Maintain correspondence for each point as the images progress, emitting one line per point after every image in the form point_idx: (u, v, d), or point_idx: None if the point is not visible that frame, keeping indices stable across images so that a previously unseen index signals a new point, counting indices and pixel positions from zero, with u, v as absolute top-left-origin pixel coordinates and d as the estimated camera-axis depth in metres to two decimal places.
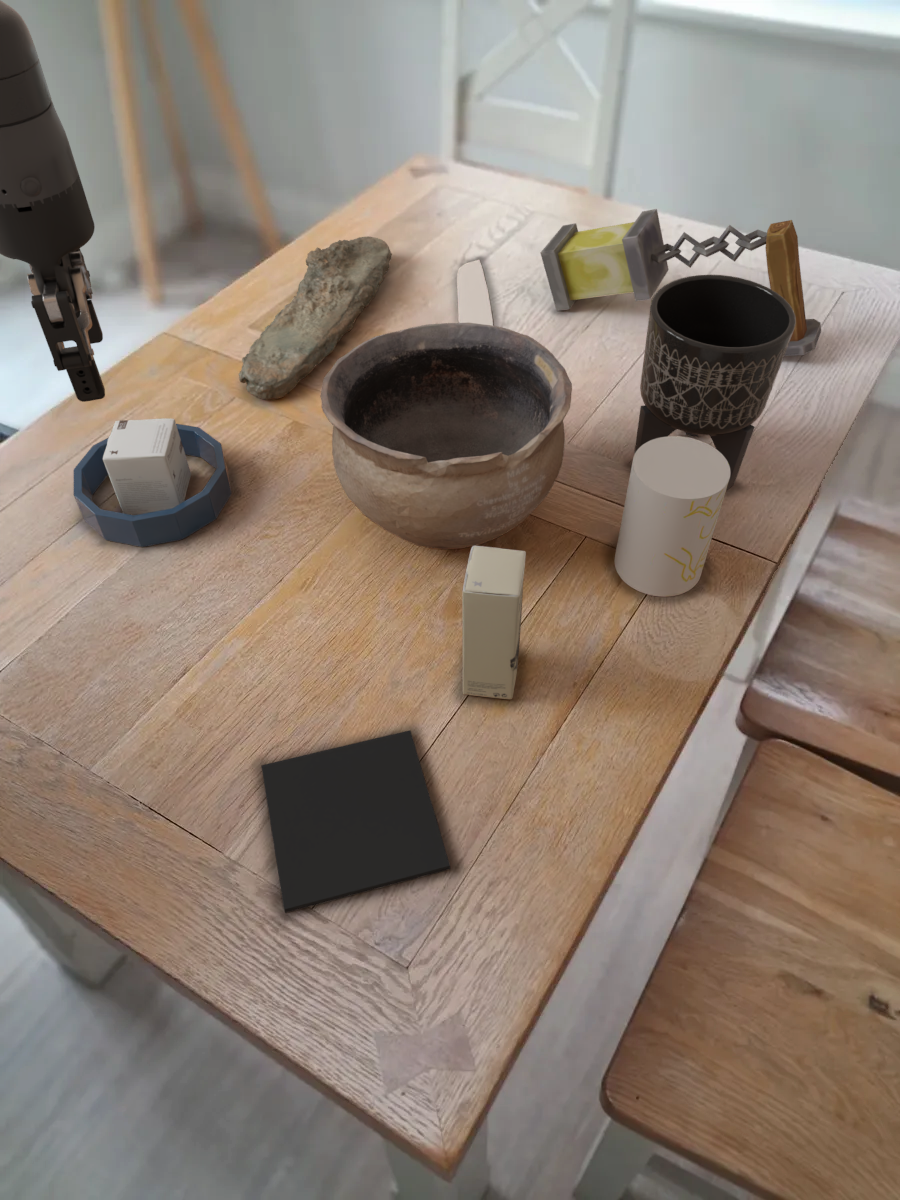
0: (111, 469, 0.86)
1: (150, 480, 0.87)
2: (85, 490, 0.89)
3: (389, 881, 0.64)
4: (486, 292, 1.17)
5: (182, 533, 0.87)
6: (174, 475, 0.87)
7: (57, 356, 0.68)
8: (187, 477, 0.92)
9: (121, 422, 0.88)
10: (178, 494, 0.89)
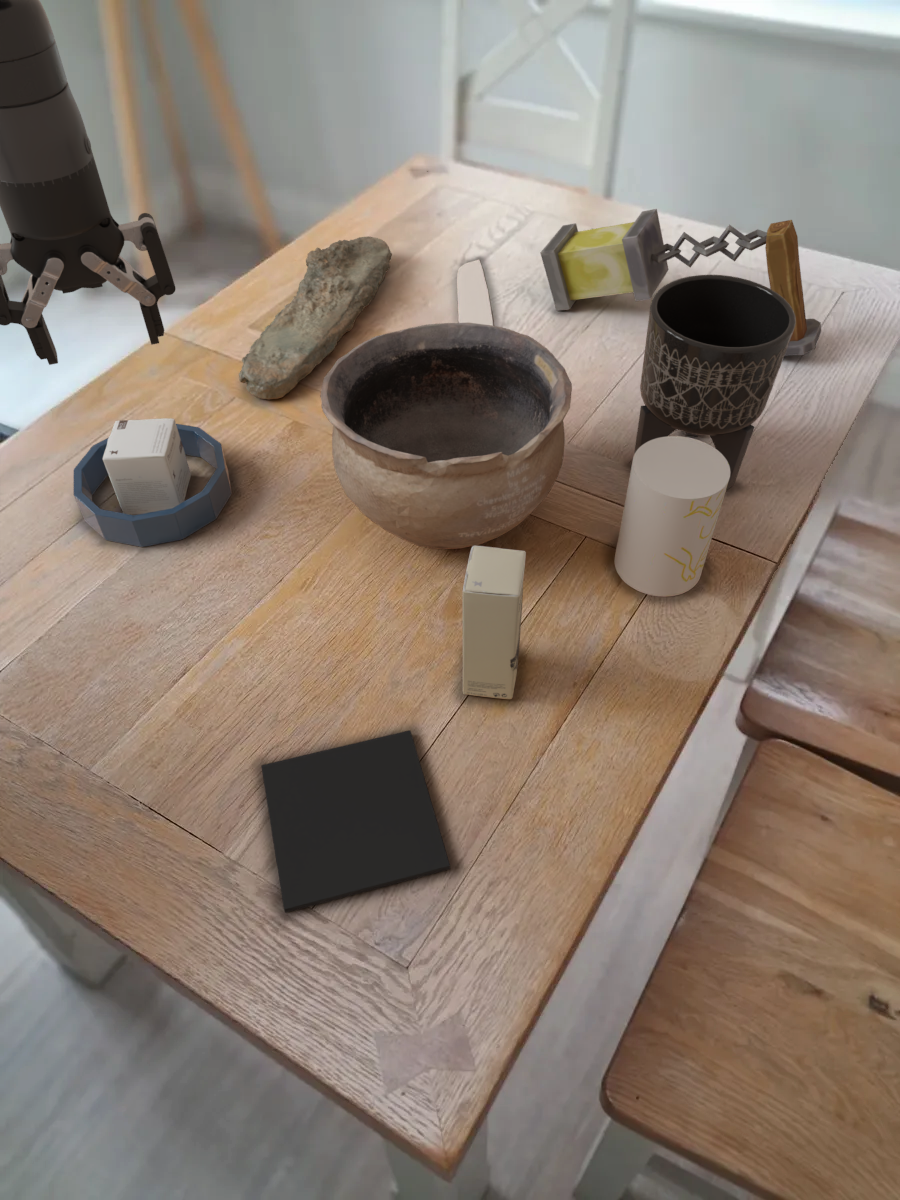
0: (111, 469, 0.86)
1: (150, 480, 0.87)
2: (85, 490, 0.89)
3: (389, 881, 0.64)
4: (485, 292, 1.17)
5: (182, 533, 0.87)
6: (174, 475, 0.87)
7: None
8: (187, 477, 0.92)
9: (121, 422, 0.88)
10: (178, 494, 0.89)
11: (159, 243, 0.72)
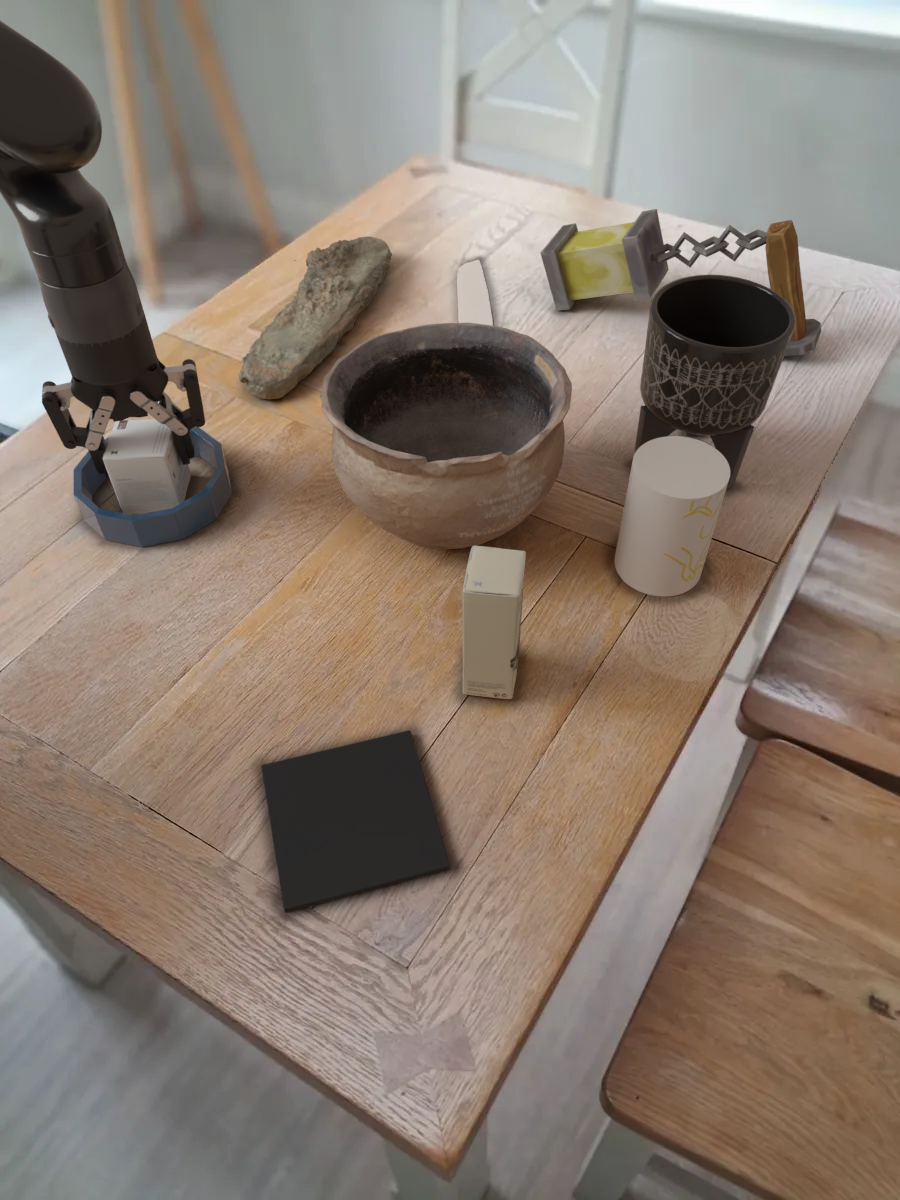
0: (111, 469, 0.86)
1: (150, 480, 0.87)
2: (85, 490, 0.89)
3: (389, 881, 0.64)
4: (485, 292, 1.17)
5: (182, 533, 0.87)
6: (174, 475, 0.87)
7: None
8: (187, 477, 0.92)
9: (121, 422, 0.88)
10: (178, 494, 0.89)
11: (197, 387, 0.83)
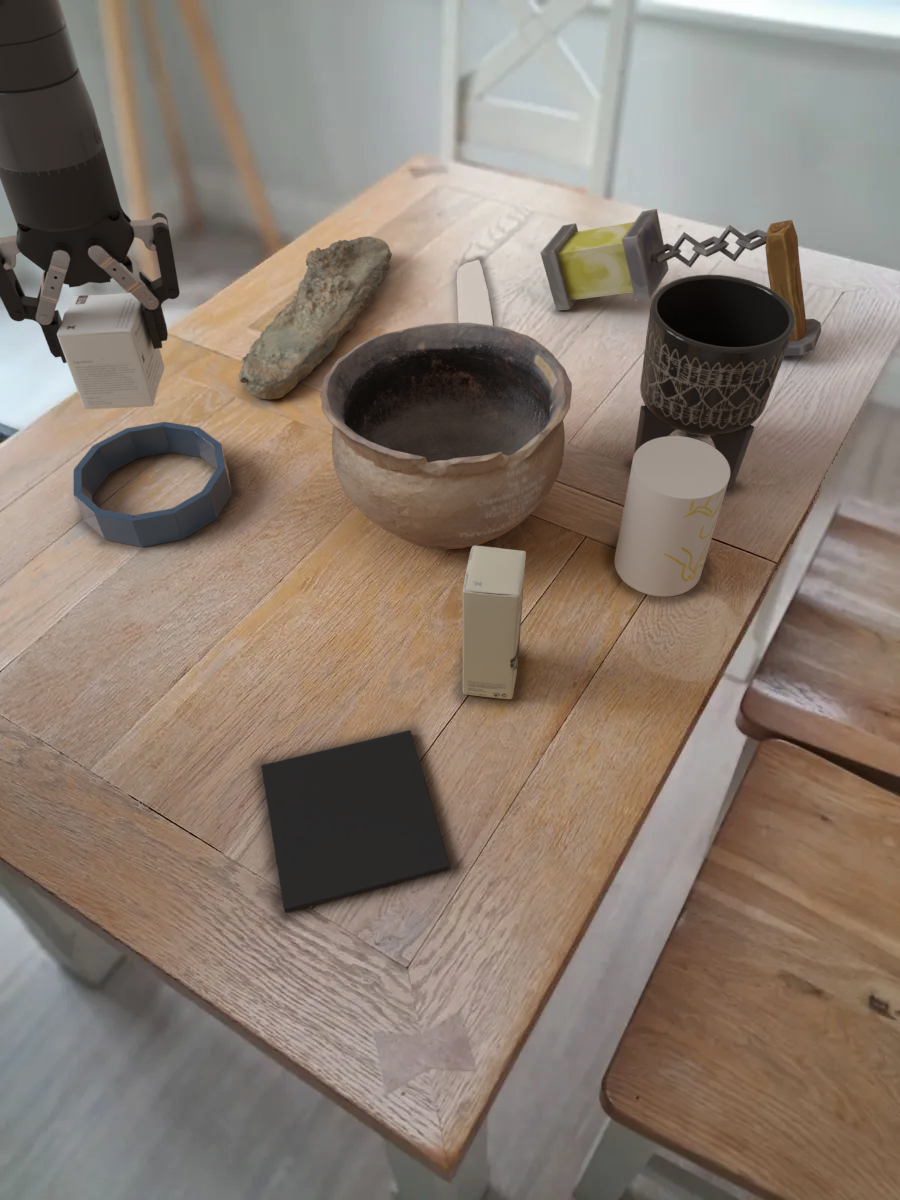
0: (68, 348, 0.72)
1: (115, 363, 0.73)
2: (85, 490, 0.89)
3: (389, 881, 0.64)
4: (485, 292, 1.17)
5: (182, 533, 0.87)
6: (143, 359, 0.74)
7: None
8: (160, 368, 0.79)
9: (80, 297, 0.75)
10: (148, 383, 0.75)
11: (170, 245, 0.69)
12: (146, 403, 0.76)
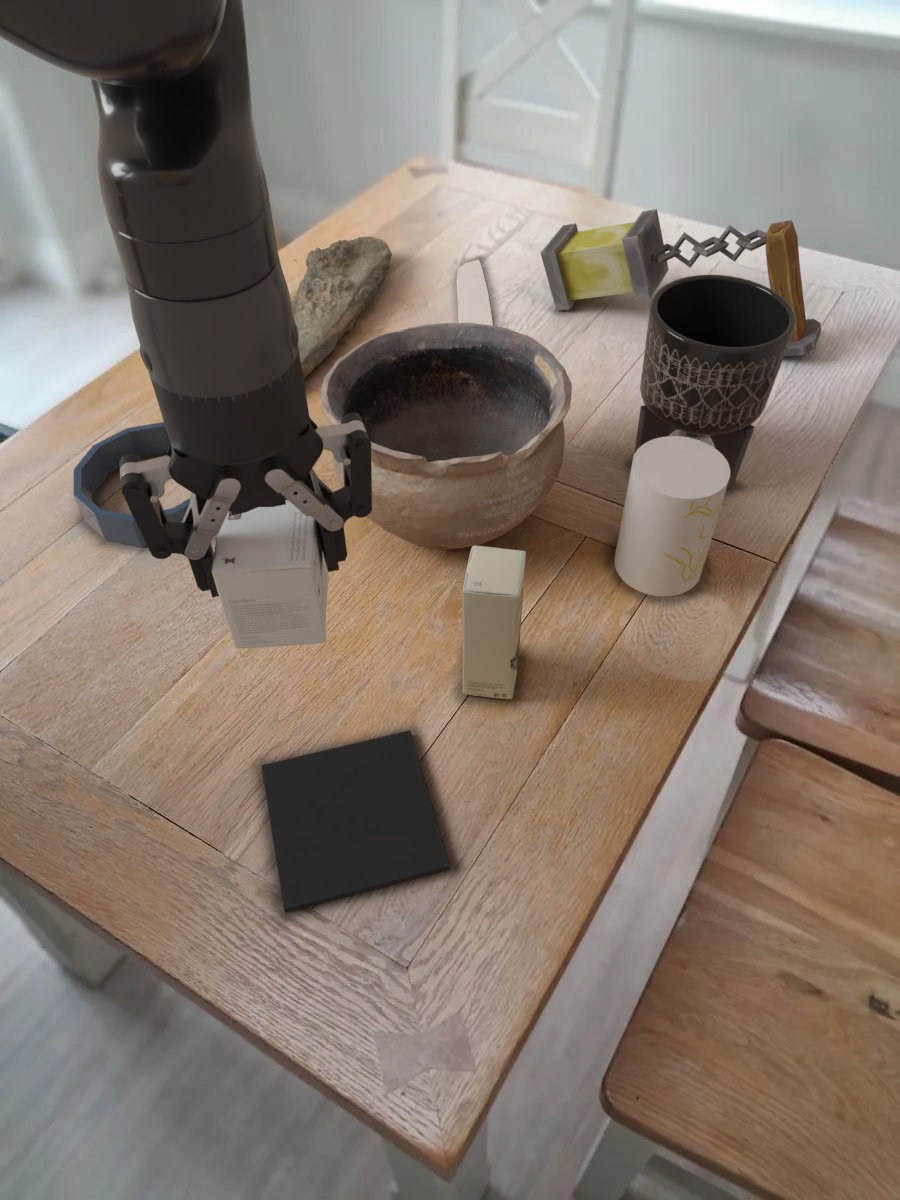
0: (225, 587, 0.54)
1: (284, 600, 0.55)
2: (85, 490, 0.89)
3: (389, 881, 0.64)
4: (485, 292, 1.17)
5: None
6: (319, 591, 0.56)
7: None
8: (326, 584, 0.61)
9: None
10: (322, 618, 0.57)
11: (369, 458, 0.51)
12: (317, 640, 0.58)
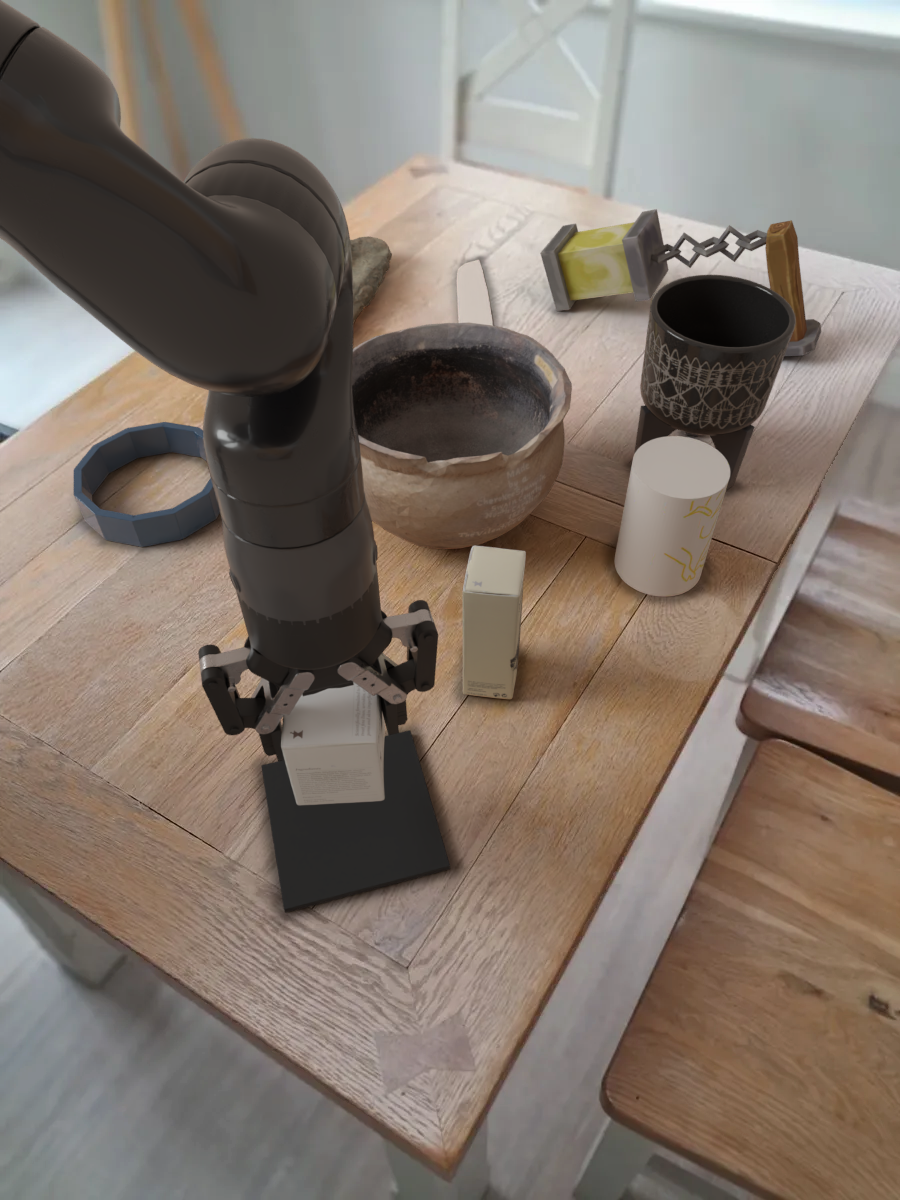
0: (292, 758, 0.56)
1: (348, 769, 0.57)
2: (85, 490, 0.89)
3: (389, 881, 0.64)
4: (485, 292, 1.17)
5: (182, 533, 0.87)
6: (380, 758, 0.58)
7: None
8: None
9: None
10: (382, 780, 0.59)
11: (435, 645, 0.53)
12: (376, 799, 0.60)
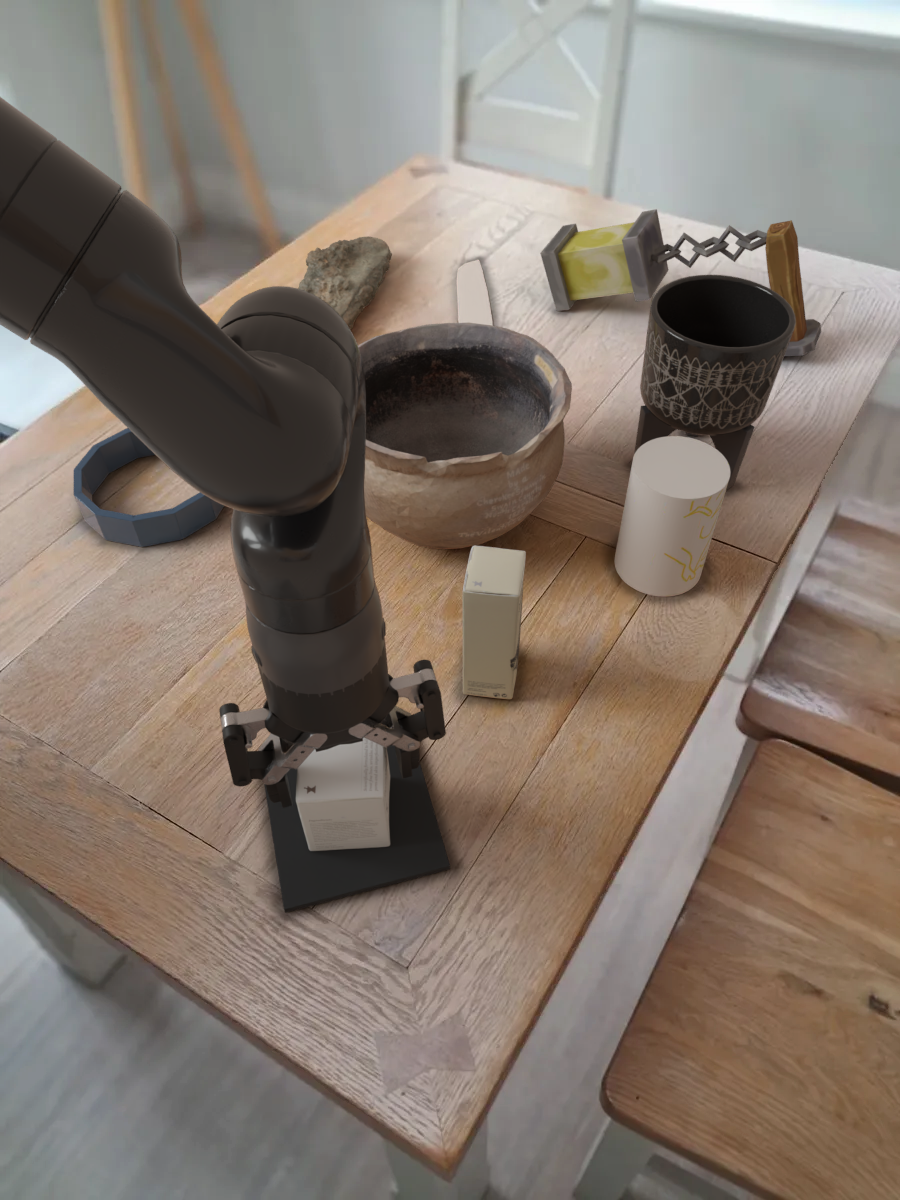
0: (306, 811, 0.61)
1: (357, 819, 0.62)
2: (85, 490, 0.89)
3: (389, 881, 0.64)
4: (485, 292, 1.17)
5: (182, 533, 0.87)
6: None
7: None
8: (389, 787, 0.68)
9: None
10: (388, 828, 0.64)
11: (440, 701, 0.58)
12: (382, 845, 0.65)
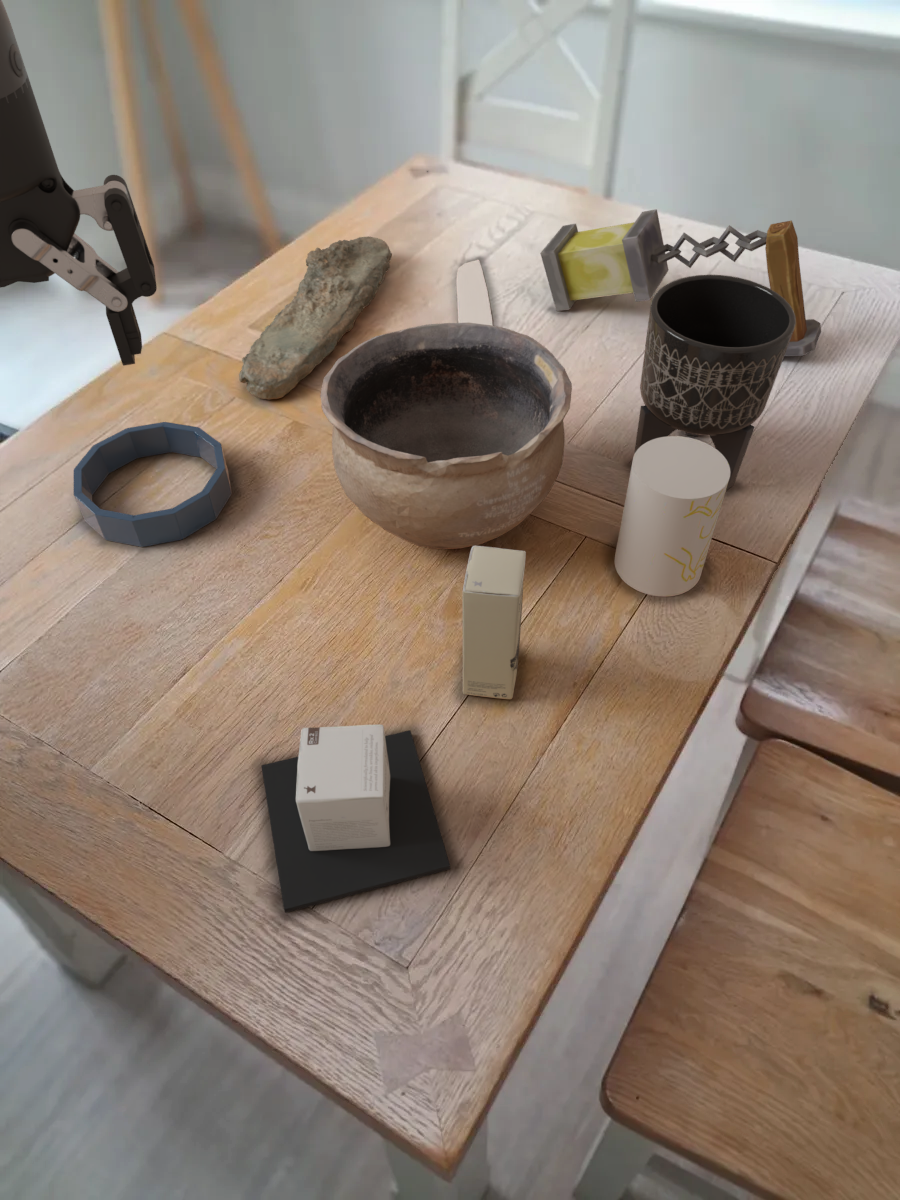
0: (306, 811, 0.61)
1: (357, 819, 0.62)
2: (85, 490, 0.89)
3: (389, 881, 0.64)
4: (485, 292, 1.18)
5: (182, 533, 0.87)
6: None
7: None
8: (389, 787, 0.68)
9: (311, 731, 0.64)
10: (388, 828, 0.64)
11: (131, 220, 0.48)
12: (382, 845, 0.65)
